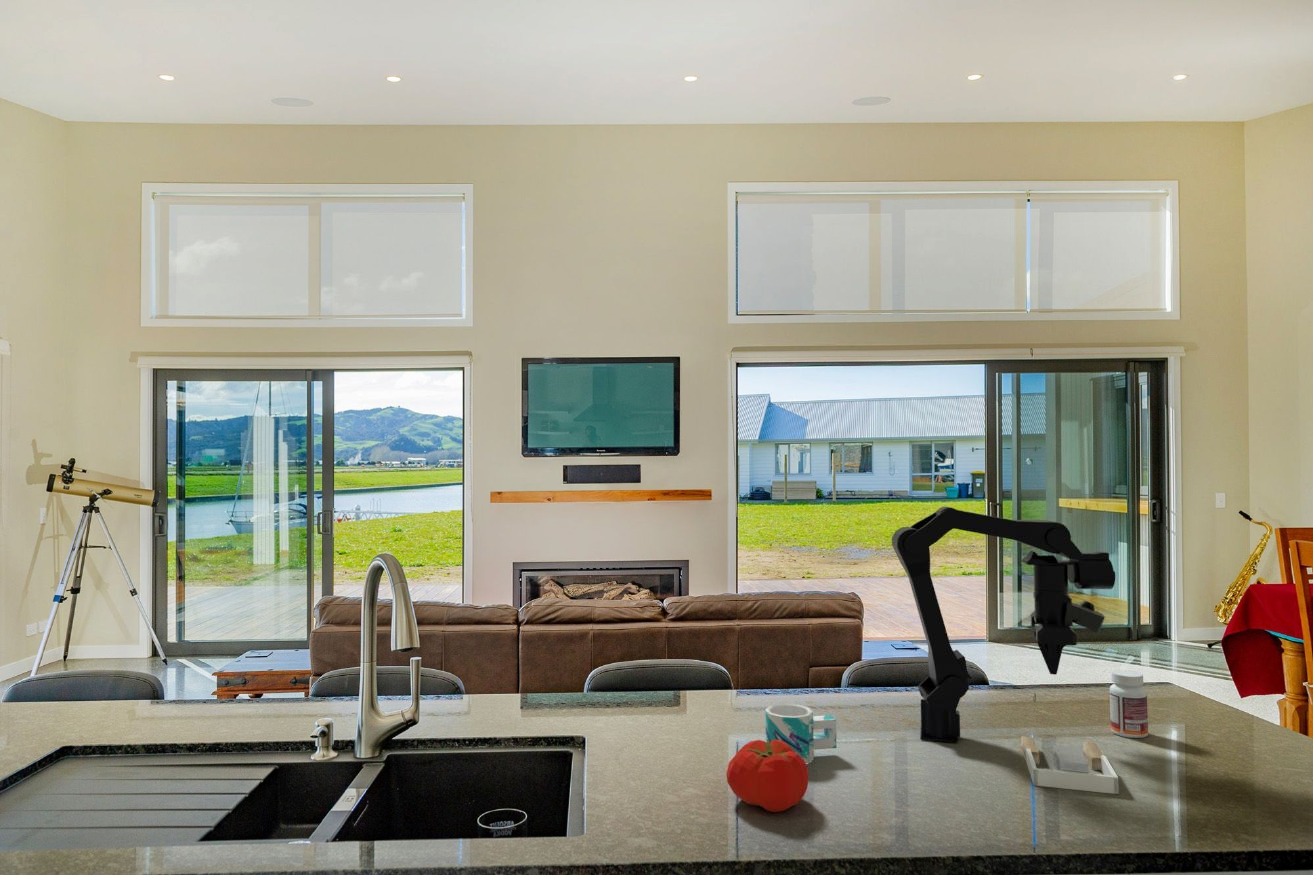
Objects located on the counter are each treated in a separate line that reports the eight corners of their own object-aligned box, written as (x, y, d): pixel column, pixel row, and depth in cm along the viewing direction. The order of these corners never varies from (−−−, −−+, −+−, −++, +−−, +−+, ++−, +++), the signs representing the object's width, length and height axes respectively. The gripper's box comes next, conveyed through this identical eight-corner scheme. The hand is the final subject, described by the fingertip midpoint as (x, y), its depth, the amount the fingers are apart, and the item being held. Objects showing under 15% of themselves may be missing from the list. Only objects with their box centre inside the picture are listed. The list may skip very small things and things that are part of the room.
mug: (761, 751, 147) (760, 704, 148) (825, 747, 149) (824, 700, 150) (775, 768, 139) (774, 718, 140) (842, 763, 141) (842, 714, 141)
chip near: (1060, 786, 130) (1060, 761, 131) (1056, 777, 134) (1056, 752, 134) (1088, 789, 129) (1088, 764, 129) (1084, 780, 133) (1083, 755, 133)
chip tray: (1033, 785, 131) (1033, 769, 131) (1026, 763, 140) (1026, 748, 140) (1118, 794, 127) (1118, 777, 127) (1105, 770, 137) (1105, 755, 137)
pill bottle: (1154, 734, 154) (1153, 673, 154) (1137, 741, 151) (1136, 678, 151) (1121, 726, 159) (1119, 667, 160) (1103, 732, 156) (1102, 671, 156)
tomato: (724, 786, 132) (723, 732, 132) (803, 787, 131) (802, 732, 131) (729, 821, 119) (728, 761, 119) (815, 821, 118) (815, 762, 119)
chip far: (1057, 777, 134) (1056, 752, 134) (1053, 768, 138) (1052, 744, 138) (1084, 780, 133) (1083, 755, 133) (1079, 771, 137) (1079, 747, 137)
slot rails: (1026, 763, 140) (1026, 751, 140) (1021, 747, 148) (1021, 736, 148) (1105, 770, 137) (1105, 758, 137) (1096, 754, 144) (1095, 742, 144)
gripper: (1108, 599, 141) (1110, 691, 140) (1092, 583, 158) (1095, 665, 158) (1036, 596, 145) (1038, 685, 144) (1029, 581, 162) (1031, 661, 162)
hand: (1053, 673), depth 152 cm, fingers closed
